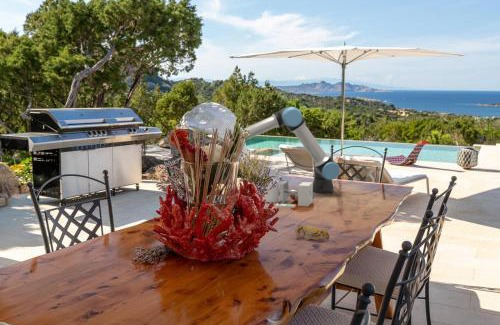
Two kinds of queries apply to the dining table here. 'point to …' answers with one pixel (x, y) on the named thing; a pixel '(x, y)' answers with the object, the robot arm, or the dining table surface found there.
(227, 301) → the dining table surface
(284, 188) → the gauge plunger
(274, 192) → the candle holder
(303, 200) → the gauge housing
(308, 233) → the crab model
